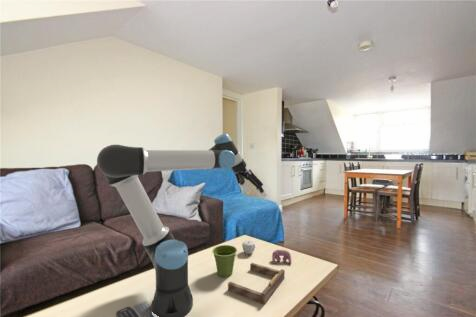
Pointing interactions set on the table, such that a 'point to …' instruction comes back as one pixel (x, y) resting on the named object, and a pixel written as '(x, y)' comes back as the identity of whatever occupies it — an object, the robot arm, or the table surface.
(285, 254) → the video game controller
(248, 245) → the apple
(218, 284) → the table surface
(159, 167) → the robot arm
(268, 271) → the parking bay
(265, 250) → the table surface
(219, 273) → the plant pot
